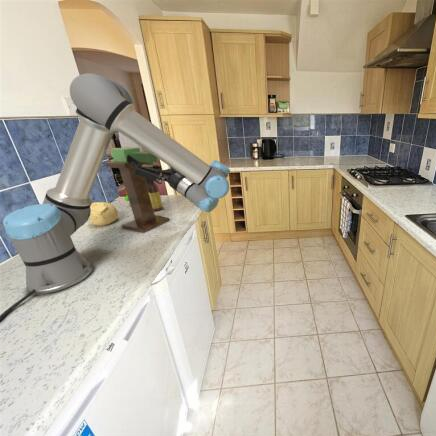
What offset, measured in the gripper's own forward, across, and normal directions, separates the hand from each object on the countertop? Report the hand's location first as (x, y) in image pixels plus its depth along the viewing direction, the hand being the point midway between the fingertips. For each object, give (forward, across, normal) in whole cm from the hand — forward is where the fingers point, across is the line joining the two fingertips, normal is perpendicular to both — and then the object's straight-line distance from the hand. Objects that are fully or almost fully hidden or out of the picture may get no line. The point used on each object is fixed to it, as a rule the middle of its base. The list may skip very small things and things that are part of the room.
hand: (143, 155), depth 99 cm
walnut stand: (-8, 0, -33) cm, 34 cm away
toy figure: (+4, 0, -6) cm, 7 cm away
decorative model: (+18, +20, -48) cm, 56 cm away
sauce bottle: (+3, +16, -40) cm, 43 cm away
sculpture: (+10, -6, -44) cm, 46 cm away
